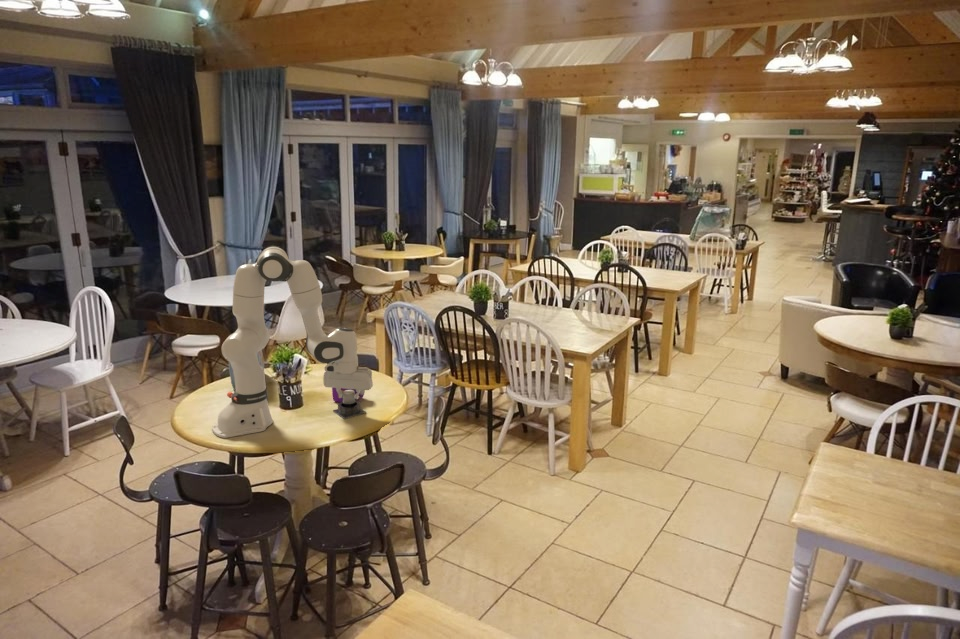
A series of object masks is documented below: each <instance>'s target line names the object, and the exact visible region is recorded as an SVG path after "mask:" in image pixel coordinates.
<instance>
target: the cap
mask: <svg viewBox="0 0 960 639" xmlns="http://www.w3.org/2000/svg"><path fill="white" fill-rule="evenodd" d="M342 394H343V403H344V404H353V403H355V401H356V399H354V395H355V391H354V390H345V391H343V392H342Z"/></svg>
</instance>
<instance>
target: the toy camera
mask: <svg viewBox="0 0 960 639" xmlns="http://www.w3.org/2000/svg"><path fill="white" fill-rule="evenodd" d="M340 390H341V392H343V391H345V390H354V391H355V394H356V393H357V392H356V389H344V388H341V389H340ZM331 392H332V401H333V402H337V403H340V402H342V401H343V398H339V394H338V392H337V391H336V388H331ZM365 393H366V390H361V391H360V393H359V398H361V399H362V398H363V397H364V396H365Z"/></svg>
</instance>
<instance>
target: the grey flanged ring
mask: <svg viewBox="0 0 960 639" xmlns="http://www.w3.org/2000/svg"><path fill="white" fill-rule="evenodd" d="M332 412H333V413H334V414H336V415H337V416H339V417H340V418H342V419H344V420H346V419H350V418H354V417H357V416H361V415H365V414H367V411H366V410H364V409H363V408H362V407H361V402H360V401H359V400H355V403H353V404H344V403H343V401H342V402H338V404H337V409H333V410H332ZM364 413H365V414H364Z"/></svg>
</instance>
